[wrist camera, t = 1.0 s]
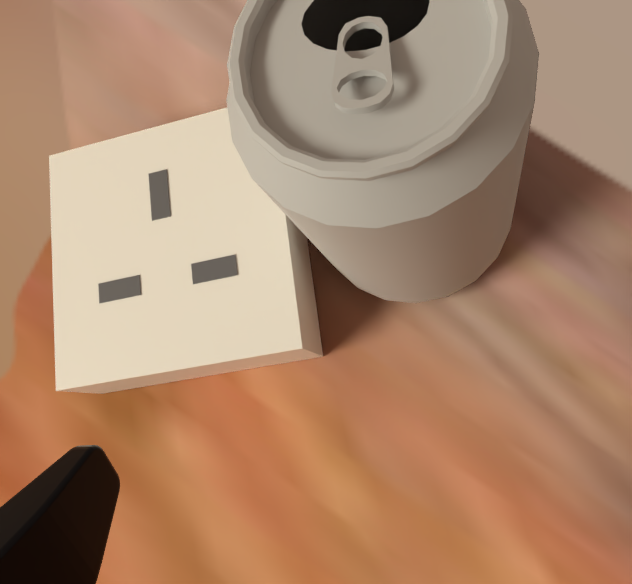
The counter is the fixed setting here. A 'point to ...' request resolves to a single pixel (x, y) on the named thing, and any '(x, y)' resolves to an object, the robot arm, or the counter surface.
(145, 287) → the socket block
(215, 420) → the counter surface
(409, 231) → the can
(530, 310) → the counter surface
